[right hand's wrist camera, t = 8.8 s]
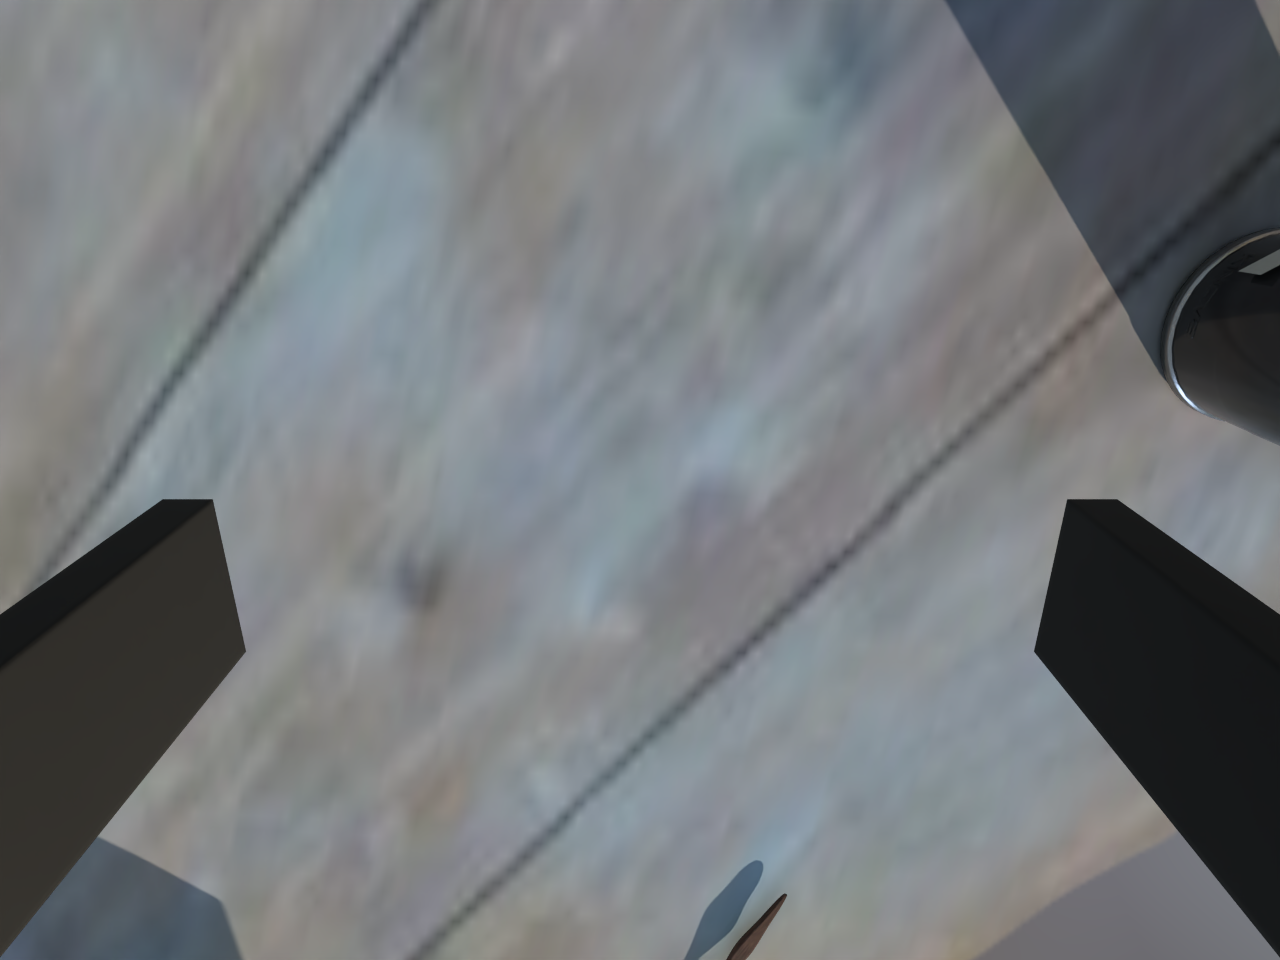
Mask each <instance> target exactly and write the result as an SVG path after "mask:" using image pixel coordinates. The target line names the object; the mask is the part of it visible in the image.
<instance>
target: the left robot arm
mask: <svg viewBox="0 0 1280 960" xmlns="http://www.w3.org/2000/svg"><path fill="white" fill-rule="evenodd" d="M1161 362H1162V368H1163V371H1164V375H1165V377H1166V379H1167V382H1168V384H1169V385H1170V387H1171V389H1172V390H1173V392H1174V393H1175V394H1176V396H1177V397H1178V398H1179V399H1180V400H1181V401H1182V402H1184V403H1185V404H1186V405H1187V406H1189V407H1190V408H1192V409H1194V410H1196V411H1198V412H1200V413H1202V414H1204V415H1207V416H1209V417H1211V418H1214V419H1217V420H1221V421H1226V422H1228V423H1230V424H1232V425H1235V426H1237V427H1239V428H1242V429H1244V430H1246V431H1248V432H1250V433H1252V434H1254V435H1256V436H1259V437H1261V438H1263V439H1265V440H1268V441H1270V442H1272V443H1275V444H1277V445H1279V446H1280V228H1273V229H1267V230H1263V231H1259V232H1256V233H1252V234H1250V235H1247V236H1244V237H1242V238H1240V239H1238V240H1236V241H1234V242H1232V243H1230V244H1228V245H1227V246H1225V247H1223V248H1222V249H1220V250H1219V251H1217V252H1216V253H1215V254H1213V255H1212V256H1211V257H1210V258H1208V259H1207V260H1206V261H1205V262H1204V263H1203V264H1202V265H1201V266H1199V267H1198V268H1197V269H1196V271H1195V272H1194V273H1193V274H1192V275H1191V276H1190V277H1189V279H1188V280H1187V281H1186V282H1185V284H1184V285H1183V286H1182V288H1181V289H1180V291H1179V292H1178V294H1177V296H1176V298H1175V299H1174V301H1173V303H1172V305H1171V307H1170V310H1169V312H1168V314H1167V317H1166V320H1165V323H1164V327H1163V331H1162V337H1161Z"/></svg>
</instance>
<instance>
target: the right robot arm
mask: <svg viewBox="0 0 1280 960" xmlns="http://www.w3.org/2000/svg"><path fill="white" fill-rule="evenodd" d="M245 652H246V650H245V645H244V641H243V636H242V631H241V627H240V622H239V618H238V613H237V608H236V604H235V599H234V595H233V590H232V586H231V581H230V576H229V572H228V567H227V563H226V558H225V554H224V549H223V544H222V540H221V535H220V531H219V526H218V522H217V517H216V512H215V508H214V503H213V499H163V500H161V501H160V502H158V503H157V504H156V505H154V506H153V507H151V508H150V509H149V510H147V511H146V512H144V513H143V514H142V515H140V516H139V517H137V518H136V519H134V520H133V521H132V522H130V523H129V524H127V525H126V526H125V527H123V528H122V529H120V530H119V531H118V532H116V533H115V534H113V535H112V536H110V537H109V538H108V539H106V540H105V541H103V542H102V543H101V544H99V545H98V546H96V547H95V548H94V549H92V550H91V551H89V552H88V553H86V554H85V555H84V556H82V557H81V558H79V559H78V560H77V561H75V562H74V563H72V564H71V565H70V566H68V567H67V568H65V569H64V570H63V571H61V572H60V573H58V574H57V575H55V576H54V577H53V578H51V579H50V580H48V581H47V582H46V583H44V584H43V585H41V586H40V587H39V588H37V589H36V590H34V591H33V592H31V593H30V594H29V595H27V596H26V597H24V598H23V599H22V600H20V601H19V602H17V603H16V604H15V605H13V606H12V607H10V608H9V609H7V610H6V611H5V612H3V613H2V614H0V957H1V956H2V954H3V953H4V952H5V951H6V949H7V948H8V947H9V946H10V944H11V943H12V942H13V941H14V939H15V938H16V937H17V936H18V934H19V933H20V932H21V931H22V929H23V928H24V927H25V926H26V925H27V923H28V922H29V921H30V920H31V918H32V917H33V916H34V915H35V913H36V912H37V911H38V910H39V908H40V907H41V906H42V905H43V903H44V902H45V901H46V900H47V898H48V897H49V896H50V895H51V893H52V892H53V891H54V890H55V888H56V887H57V886H58V885H59V883H60V882H61V881H62V880H63V878H64V877H65V876H66V875H67V874H68V872H69V871H70V870H71V869H72V867H73V866H74V865H75V864H76V862H77V861H78V860H79V859H80V857H81V856H82V855H83V854H84V852H85V851H86V850H87V849H88V847H89V846H90V845H91V844H92V842H93V841H94V840H95V839H96V837H97V836H98V835H99V834H100V832H101V831H102V830H103V829H104V827H105V826H106V825H107V824H108V822H109V821H110V820H111V819H112V818H113V816H114V815H115V814H116V813H117V811H118V810H119V809H120V808H121V806H122V805H123V804H124V803H125V801H126V800H127V799H128V798H129V796H130V795H131V794H132V793H133V791H134V790H135V789H136V788H137V786H138V785H139V784H140V783H141V781H142V780H143V779H144V778H145V776H146V775H147V774H148V773H149V771H150V770H151V769H152V768H153V767H154V765H155V764H156V763H157V762H158V760H159V759H160V758H161V757H162V755H163V754H164V753H165V752H166V750H167V749H168V748H169V747H170V745H171V744H172V743H173V742H174V740H175V739H176V738H177V737H178V735H179V734H180V733H181V732H182V730H183V729H184V728H185V727H186V725H187V724H188V723H189V722H190V720H191V719H192V718H193V717H194V715H195V714H196V713H197V712H198V711H199V709H200V708H201V707H202V706H203V704H204V703H205V702H206V701H207V699H208V698H209V697H210V696H211V694H212V693H213V692H214V691H215V689H216V688H217V687H218V686H219V684H220V683H221V682H222V681H223V679H224V678H225V677H226V676H227V674H228V673H229V672H230V671H231V669H232V668H233V667H234V666H235V664H236V663H237V662H238V661H239V660H240V658H241V657H242V656H243V655H244V653H245ZM1034 652H1035V653H1036V655H1037V656H1038V657H1039V658H1040V660H1041V661H1042V662H1043V663H1044V664H1045V666H1046V667H1047V668H1048V669H1049V671H1050V672H1051V673H1052V674H1053V676H1054V677H1055V678H1056V679H1057V681H1058V682H1059V683H1060V684H1061V686H1062V687H1063V688H1064V689H1065V691H1066V692H1067V693H1068V694H1069V696H1070V697H1071V698H1072V699H1073V701H1074V702H1075V703H1076V704H1077V706H1078V707H1079V708H1080V709H1081V711H1082V712H1083V713H1084V714H1085V715H1086V717H1087V718H1088V719H1089V720H1090V722H1091V723H1092V724H1093V725H1094V727H1095V728H1096V729H1097V730H1098V732H1099V733H1100V734H1101V735H1102V737H1103V738H1104V739H1105V740H1106V742H1107V743H1108V744H1109V745H1110V747H1111V748H1112V749H1113V750H1114V752H1115V753H1116V754H1117V755H1118V757H1119V758H1120V759H1121V760H1122V762H1123V763H1124V764H1125V765H1126V767H1127V768H1128V769H1129V770H1130V771H1131V773H1132V774H1133V775H1134V776H1135V778H1136V779H1137V780H1138V781H1139V783H1140V784H1141V785H1142V786H1143V788H1144V789H1145V790H1146V791H1147V793H1148V794H1149V795H1150V796H1151V798H1152V799H1153V800H1154V801H1155V803H1156V804H1157V805H1158V806H1159V808H1160V809H1161V810H1162V811H1163V813H1164V814H1165V815H1166V816H1167V818H1168V819H1169V820H1170V821H1171V822H1172V824H1173V825H1174V826H1175V827H1176V829H1177V830H1178V831H1179V832H1180V834H1181V835H1182V836H1183V837H1184V839H1185V840H1186V841H1187V842H1188V844H1189V845H1190V846H1191V847H1192V849H1193V850H1194V851H1195V852H1196V854H1197V855H1198V856H1199V857H1200V859H1201V860H1202V861H1203V862H1204V864H1205V865H1206V866H1207V867H1208V869H1209V870H1210V871H1211V872H1212V873H1213V875H1214V876H1215V877H1216V878H1217V880H1218V881H1219V882H1220V883H1221V885H1222V886H1223V887H1224V888H1225V890H1226V891H1227V892H1228V893H1229V895H1230V896H1231V897H1232V898H1233V900H1234V901H1235V902H1236V903H1237V905H1238V906H1239V907H1240V908H1241V910H1242V911H1243V912H1244V913H1245V915H1246V916H1247V917H1248V918H1249V920H1250V921H1251V922H1252V923H1253V925H1254V926H1255V927H1256V928H1257V929H1258V931H1259V932H1260V933H1261V934H1262V936H1263V937H1264V938H1265V939H1266V941H1267V942H1268V943H1269V944H1270V946H1271V947H1272V948H1273V949H1274V951H1275V952H1276V953H1277V954H1278V956H1279V957H1280V614H1278V613H1277V612H1275V611H1274V610H1273V609H1271V608H1270V607H1268V606H1267V605H1265V604H1264V603H1263V602H1261V601H1260V600H1258V599H1257V598H1256V597H1254V596H1253V595H1251V594H1250V593H1249V592H1247V591H1246V590H1244V589H1243V588H1241V587H1240V586H1239V585H1237V584H1236V583H1234V582H1233V581H1232V580H1230V579H1229V578H1227V577H1226V576H1225V575H1223V574H1222V573H1220V572H1219V571H1217V570H1216V569H1215V568H1213V567H1212V566H1210V565H1209V564H1208V563H1206V562H1205V561H1203V560H1202V559H1201V558H1199V557H1198V556H1196V555H1195V554H1194V553H1192V552H1191V551H1189V550H1188V549H1186V548H1185V547H1184V546H1182V545H1181V544H1179V543H1178V542H1177V541H1175V540H1174V539H1172V538H1171V537H1170V536H1168V535H1167V534H1165V533H1164V532H1162V531H1161V530H1160V529H1158V528H1157V527H1155V526H1154V525H1153V524H1151V523H1150V522H1148V521H1147V520H1146V519H1144V518H1143V517H1141V516H1140V515H1138V514H1137V513H1136V512H1134V511H1133V510H1131V509H1130V508H1129V507H1127V506H1126V505H1124V504H1123V503H1122V502H1120V501H1119V500H1117V499H1067V503H1066V508H1065V512H1064V517H1063V522H1062V526H1061V531H1060V535H1059V540H1058V544H1057V549H1056V554H1055V558H1054V563H1053V567H1052V572H1051V576H1050V581H1049V586H1048V590H1047V595H1046V599H1045V604H1044V608H1043V613H1042V618H1041V622H1040V627H1039V631H1038V636H1037V641H1036V645H1035V650H1034Z"/></svg>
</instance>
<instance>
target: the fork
mask: <svg viewBox="0 0 1280 960" xmlns="http://www.w3.org/2000/svg"><path fill="white" fill-rule="evenodd" d="M786 896H787V894H783V895H782V896H781V897H780V898H779V899H778V900H777V901H776V902H775V903H774V904H773V905H772V906H771V907H770V908H769V909H768V910H767V911H766V912H765V913H764V915H763V916H762V917H761V918H760V919H759V920H758V921H757V922H756V923H755V924H754V925H753V926H752V927H751V928H750V929H749V930H748V931H747V932H746V933H745V934H744V935H743V936H742V937H741V939H740V940H739V941H738V942H737V943H736V945H735V946H734V948H733V949H732V951H731V953H730V954H729V956H728V958H727V959H726V960H746V959H747V957H748V956H749V955H750V954H751V953H752V951H753V950H754V948H755V947H756V945H757V944H758V942H759V941H760V939H761V937H762V936H763V934H764V932H765V931H766V929H767V928H768V926H769V924H770V923H771V921H772V920H773V918H774V917H775V915H776V914H777V912H778V911H779V909H780V907H781V906H782V904H783V902H784V900H785V899H786Z"/></svg>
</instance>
